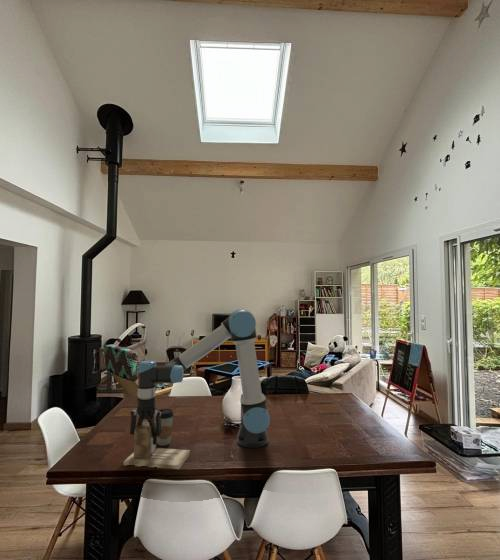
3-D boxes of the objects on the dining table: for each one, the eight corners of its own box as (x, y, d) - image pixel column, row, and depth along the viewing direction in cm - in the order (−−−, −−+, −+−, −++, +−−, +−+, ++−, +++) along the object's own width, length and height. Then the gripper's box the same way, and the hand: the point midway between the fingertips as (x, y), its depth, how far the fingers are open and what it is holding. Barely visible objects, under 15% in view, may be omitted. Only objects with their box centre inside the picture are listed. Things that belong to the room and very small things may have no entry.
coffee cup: (155, 447, 151) (155, 414, 152) (155, 440, 159) (155, 409, 160) (173, 445, 154) (174, 413, 155) (172, 438, 162) (173, 407, 163)
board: (190, 453, 145) (190, 450, 146) (178, 469, 132) (179, 465, 132) (139, 450, 149) (139, 446, 149) (123, 465, 135) (123, 461, 135)
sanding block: (156, 449, 145) (156, 421, 146) (147, 458, 136) (147, 429, 137) (143, 448, 146) (144, 421, 147) (133, 457, 137) (134, 428, 138)
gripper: (170, 395, 145) (169, 448, 144) (130, 393, 148) (129, 446, 146) (163, 400, 138) (162, 456, 136) (121, 398, 141) (120, 453, 139)
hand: (145, 451), depth 141 cm, fingers closed on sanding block, 6 cm apart
